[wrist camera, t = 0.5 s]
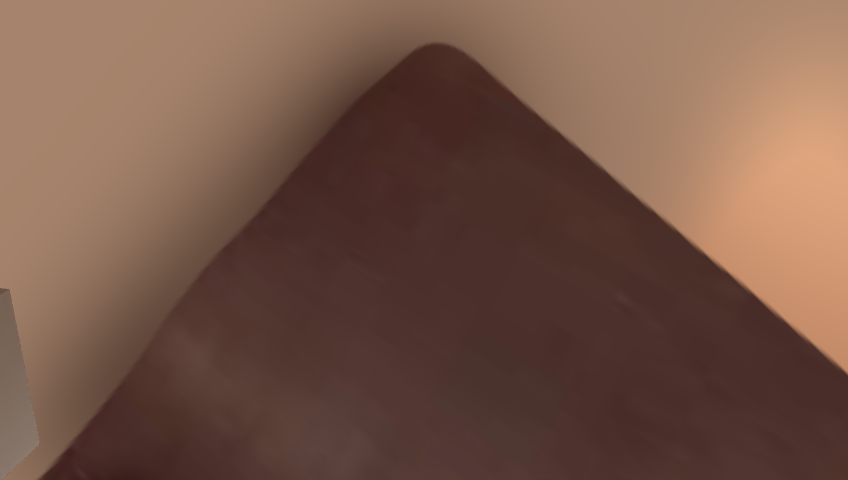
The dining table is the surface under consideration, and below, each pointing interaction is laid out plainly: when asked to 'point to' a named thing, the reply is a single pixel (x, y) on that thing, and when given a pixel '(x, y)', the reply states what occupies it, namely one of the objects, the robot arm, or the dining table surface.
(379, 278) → the dining table surface
